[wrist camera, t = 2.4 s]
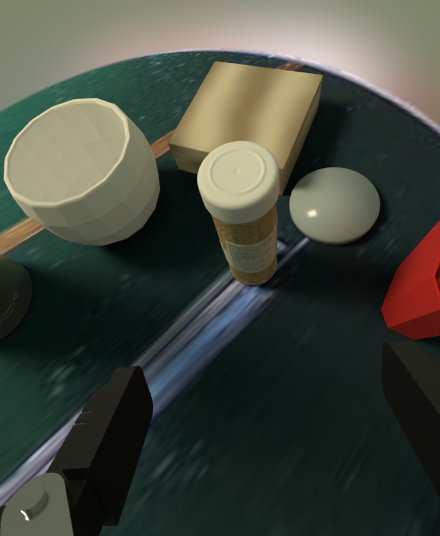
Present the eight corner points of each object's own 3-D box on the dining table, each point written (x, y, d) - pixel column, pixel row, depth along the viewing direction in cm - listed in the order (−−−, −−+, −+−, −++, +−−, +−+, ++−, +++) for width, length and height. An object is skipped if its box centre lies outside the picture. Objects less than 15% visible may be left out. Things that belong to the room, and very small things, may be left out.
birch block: (179, 169, 35) (167, 143, 31) (221, 93, 38) (215, 61, 34) (282, 195, 31) (282, 169, 27) (317, 108, 34) (322, 75, 31)
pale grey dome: (278, 231, 30) (278, 226, 29) (304, 166, 32) (304, 160, 31) (364, 256, 27) (367, 251, 26) (385, 184, 30) (389, 178, 29)
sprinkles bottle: (233, 240, 30) (203, 136, 18) (280, 244, 29) (283, 136, 17) (225, 284, 29) (187, 204, 16) (275, 290, 28) (274, 208, 15)
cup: (146, 277, 30) (92, 229, 21) (49, 247, 34) (-32, 196, 25) (191, 176, 34) (161, 100, 25) (99, 158, 37) (44, 86, 28)
